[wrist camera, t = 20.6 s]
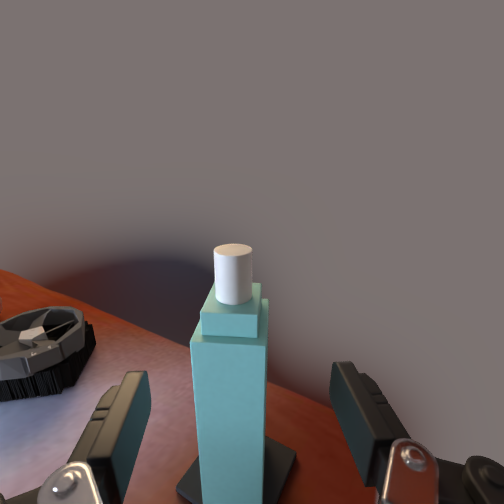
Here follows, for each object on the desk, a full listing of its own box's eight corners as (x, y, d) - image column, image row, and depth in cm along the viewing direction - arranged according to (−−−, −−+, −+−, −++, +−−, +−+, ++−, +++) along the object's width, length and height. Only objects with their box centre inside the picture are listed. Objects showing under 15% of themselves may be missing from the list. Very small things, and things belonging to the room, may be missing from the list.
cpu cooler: (9, 308, 35) (96, 301, 37) (21, 345, 37) (104, 337, 39) (-60, 366, 26) (61, 353, 28) (-39, 413, 28) (73, 398, 30)
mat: (296, 456, 24) (296, 451, 24) (256, 552, 18) (257, 546, 18) (227, 420, 27) (227, 415, 27) (175, 491, 21) (175, 486, 21)
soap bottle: (264, 441, 25) (270, 237, 18) (262, 513, 20) (268, 268, 14) (217, 437, 25) (207, 235, 19) (203, 507, 20) (182, 265, 14)
